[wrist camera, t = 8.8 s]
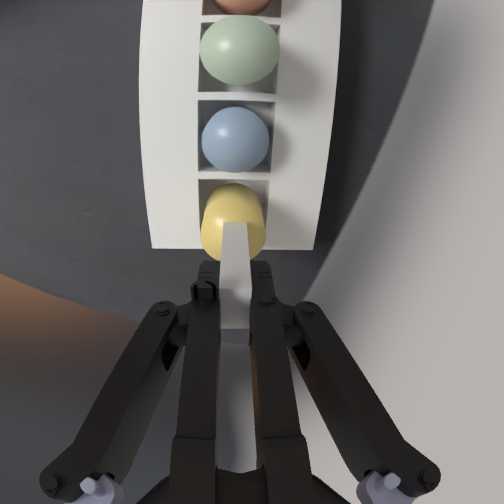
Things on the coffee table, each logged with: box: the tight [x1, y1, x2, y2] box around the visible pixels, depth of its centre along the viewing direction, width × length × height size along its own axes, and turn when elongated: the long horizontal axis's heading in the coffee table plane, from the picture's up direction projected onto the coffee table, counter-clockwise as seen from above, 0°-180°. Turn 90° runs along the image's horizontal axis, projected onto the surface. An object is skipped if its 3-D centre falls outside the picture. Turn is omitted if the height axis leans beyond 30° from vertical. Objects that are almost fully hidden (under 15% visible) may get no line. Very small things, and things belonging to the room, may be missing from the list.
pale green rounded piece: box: [199, 15, 280, 85], centre depth 14 cm, size 4×4×4 cm
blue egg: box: [202, 105, 269, 173], centre depth 19 cm, size 4×4×4 cm
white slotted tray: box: [139, 0, 341, 250], centre depth 19 cm, size 25×14×4 cm, turn 177°
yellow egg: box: [200, 183, 266, 261], centre depth 21 cm, size 4×4×4 cm
